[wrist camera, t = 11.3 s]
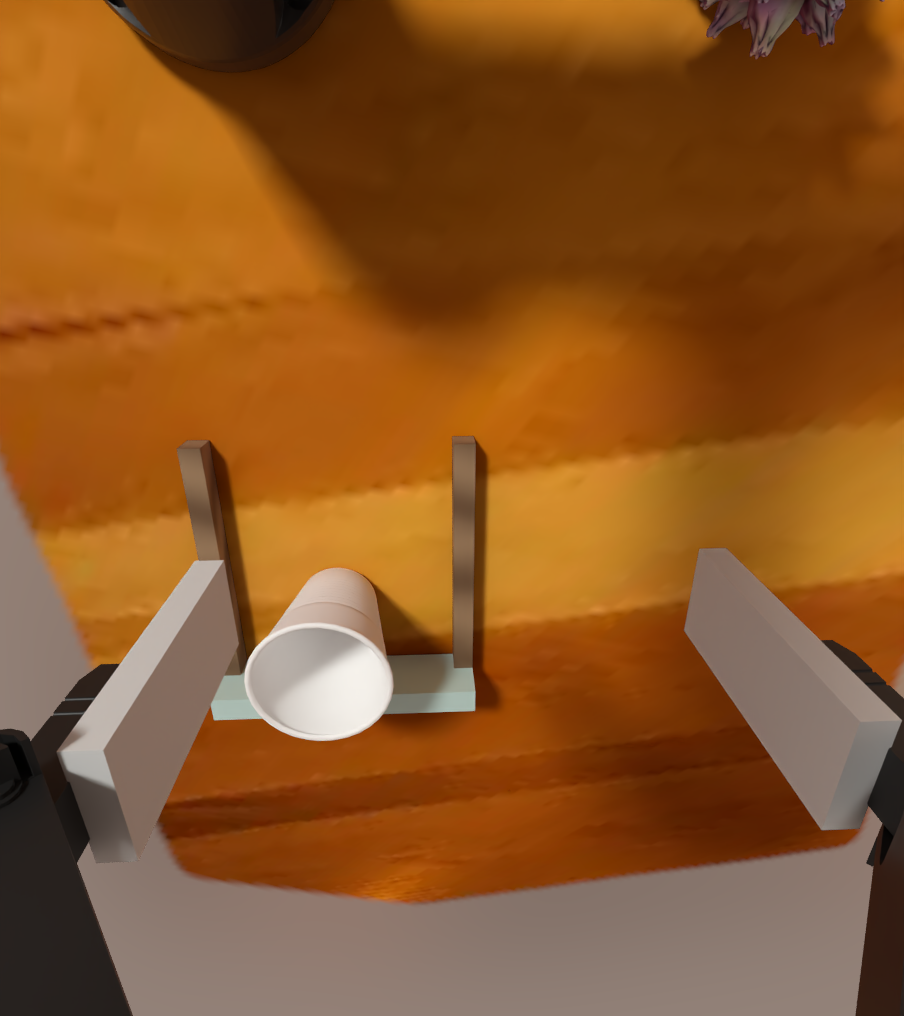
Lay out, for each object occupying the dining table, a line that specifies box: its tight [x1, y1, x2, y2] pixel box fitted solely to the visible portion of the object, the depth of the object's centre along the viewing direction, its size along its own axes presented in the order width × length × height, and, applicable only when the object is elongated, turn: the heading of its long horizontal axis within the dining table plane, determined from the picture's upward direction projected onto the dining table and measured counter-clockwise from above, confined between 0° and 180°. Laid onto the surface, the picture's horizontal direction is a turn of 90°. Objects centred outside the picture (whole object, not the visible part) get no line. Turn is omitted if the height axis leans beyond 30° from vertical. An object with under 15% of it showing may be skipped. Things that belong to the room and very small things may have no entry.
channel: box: [177, 436, 476, 676], centre depth 48 cm, size 22×21×2 cm
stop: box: [211, 654, 475, 720], centre depth 50 cm, size 2×21×5 cm, turn 90°
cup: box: [244, 568, 394, 741], centre depth 45 cm, size 10×10×11 cm
